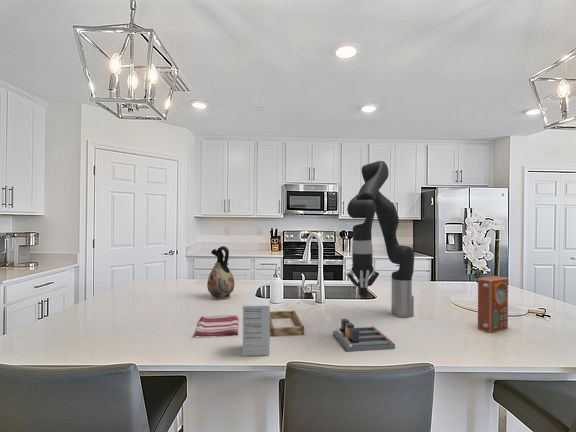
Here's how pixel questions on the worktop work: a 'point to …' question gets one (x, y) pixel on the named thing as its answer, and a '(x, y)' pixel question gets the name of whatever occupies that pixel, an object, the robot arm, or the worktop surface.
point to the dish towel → (217, 326)
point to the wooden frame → (286, 330)
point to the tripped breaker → (348, 329)
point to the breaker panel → (362, 338)
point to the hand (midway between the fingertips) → (363, 296)
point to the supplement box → (256, 327)
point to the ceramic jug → (220, 276)
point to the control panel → (492, 303)
